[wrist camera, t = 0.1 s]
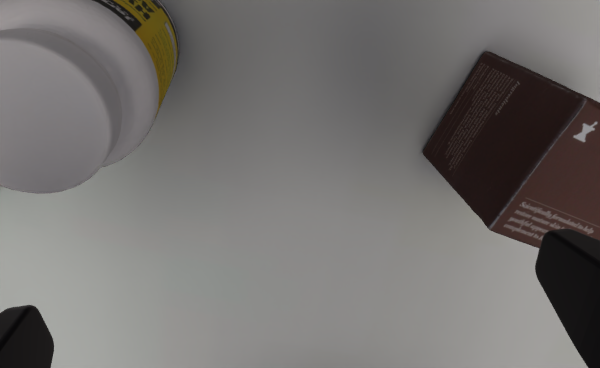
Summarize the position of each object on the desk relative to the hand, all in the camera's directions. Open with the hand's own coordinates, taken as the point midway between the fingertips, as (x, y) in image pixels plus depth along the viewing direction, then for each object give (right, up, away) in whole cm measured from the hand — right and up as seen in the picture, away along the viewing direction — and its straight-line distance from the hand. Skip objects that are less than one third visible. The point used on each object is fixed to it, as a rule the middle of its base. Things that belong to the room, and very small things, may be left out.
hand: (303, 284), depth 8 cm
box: (+10, +5, +16) cm, 20 cm away
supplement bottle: (-8, +8, +11) cm, 16 cm away
